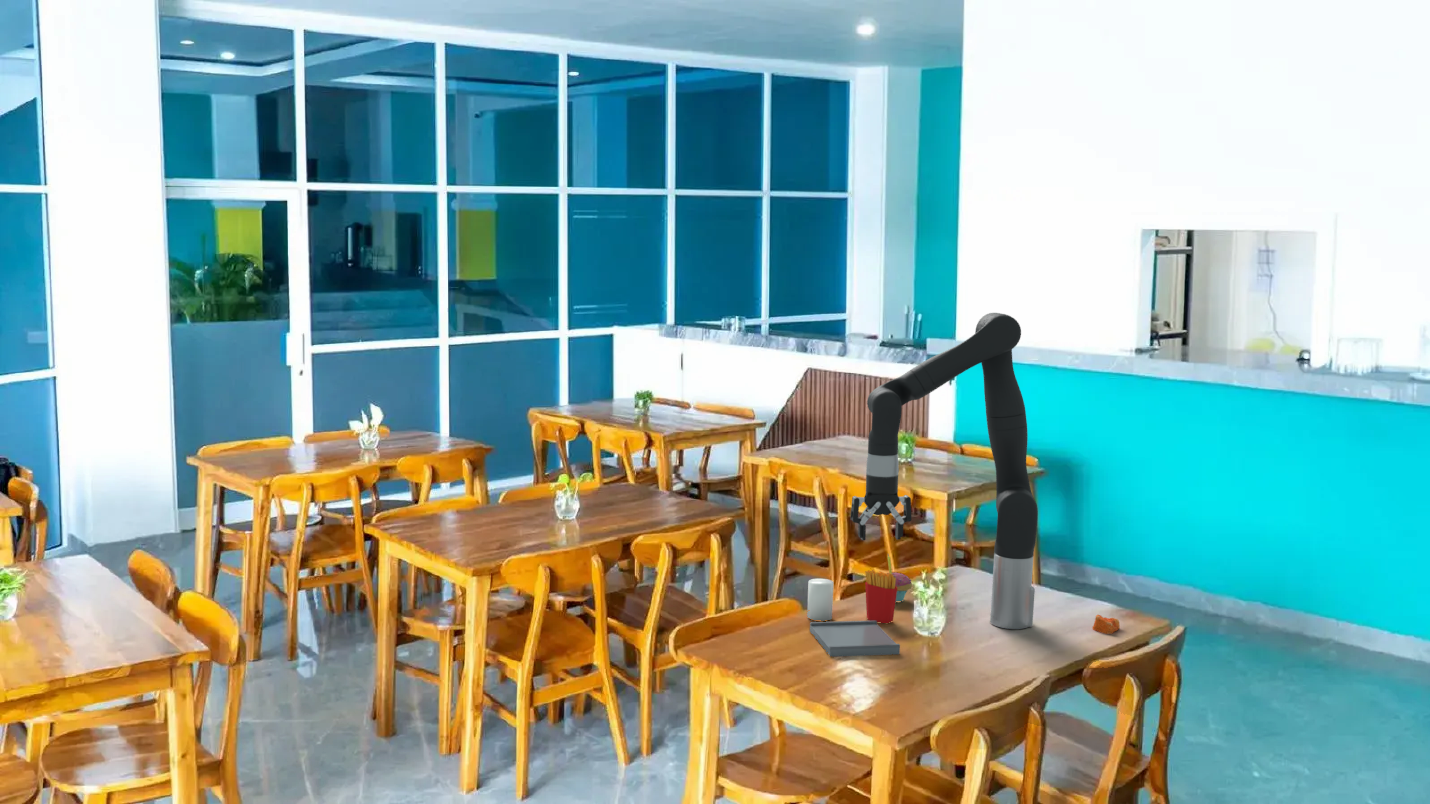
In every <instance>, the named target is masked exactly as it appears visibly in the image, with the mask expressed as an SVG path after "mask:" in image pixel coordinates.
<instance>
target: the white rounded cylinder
mask: <svg viewBox="0 0 1430 804" xmlns="http://www.w3.org/2000/svg"><path fill="white" fill-rule="evenodd" d="M807 584H808V585H807V586H808V587H807V588H808V589H807V607H806V608H807V611H808V610H810V611H808V612H806V614H807V615H806V618H807V617H808V618H810V619H813V620H821V621H825V620H830V621H832V620H833V604H834V603H833V601H834V581H833V580H831V579H827V578H812V579H809V580H808V582H807ZM808 618H807V619H808ZM831 619H832V620H831Z"/></svg>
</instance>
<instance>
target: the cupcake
mask: <svg viewBox="0 0 1430 804" xmlns="http://www.w3.org/2000/svg"><path fill="white" fill-rule="evenodd" d="M887 565H888V571H889V572H887V573H886V572H885V573H886V574H888V573H890V574H892V575H893V576H894V577H895V578H896V582H895V586H896V587H897V595H896V601H902V600H903V601H904V599H905V596H906V594H907V592H908V590H909V591H910V590H911V589H912V585H913V583H912V579H910V578H909V577H908V576H907V575H906V574H903V573H901V572H894V571H893V570H892V563H891V556H890V555H889V553H887ZM903 601H902V602H903Z"/></svg>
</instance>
